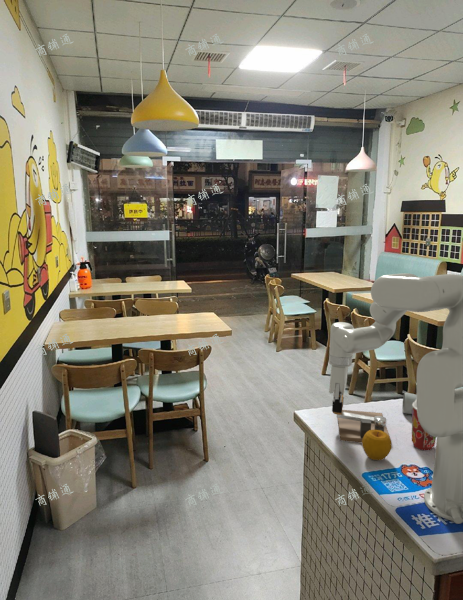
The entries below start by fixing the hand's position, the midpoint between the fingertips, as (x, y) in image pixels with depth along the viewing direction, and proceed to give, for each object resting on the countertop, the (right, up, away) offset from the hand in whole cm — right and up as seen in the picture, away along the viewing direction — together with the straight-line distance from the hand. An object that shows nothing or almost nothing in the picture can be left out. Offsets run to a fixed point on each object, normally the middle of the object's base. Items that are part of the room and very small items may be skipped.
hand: (337, 409), depth 148 cm
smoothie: (+25, -10, -10) cm, 29 cm away
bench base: (+9, -7, +2) cm, 11 cm away
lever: (+7, -3, -2) cm, 8 cm away
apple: (+8, -11, -16) cm, 21 cm away
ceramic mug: (+32, -5, +14) cm, 35 cm away
